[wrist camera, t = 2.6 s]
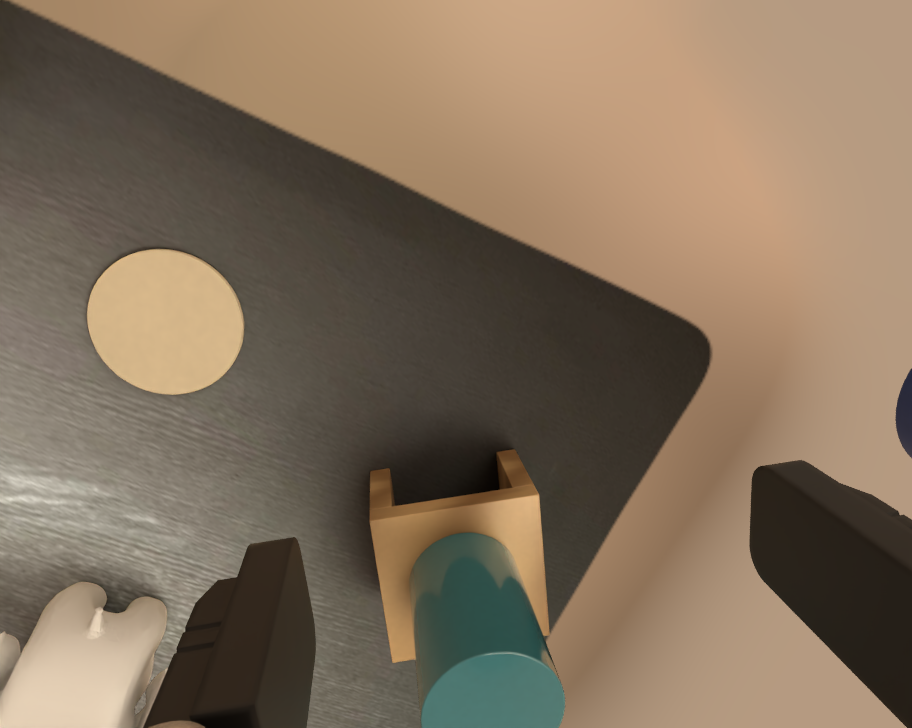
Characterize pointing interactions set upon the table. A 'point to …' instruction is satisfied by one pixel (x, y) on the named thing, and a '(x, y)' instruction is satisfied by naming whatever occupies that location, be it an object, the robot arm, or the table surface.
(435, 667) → the teal cylinder
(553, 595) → the table surface
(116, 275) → the coaster
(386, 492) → the shelf
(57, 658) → the elephant figurine
